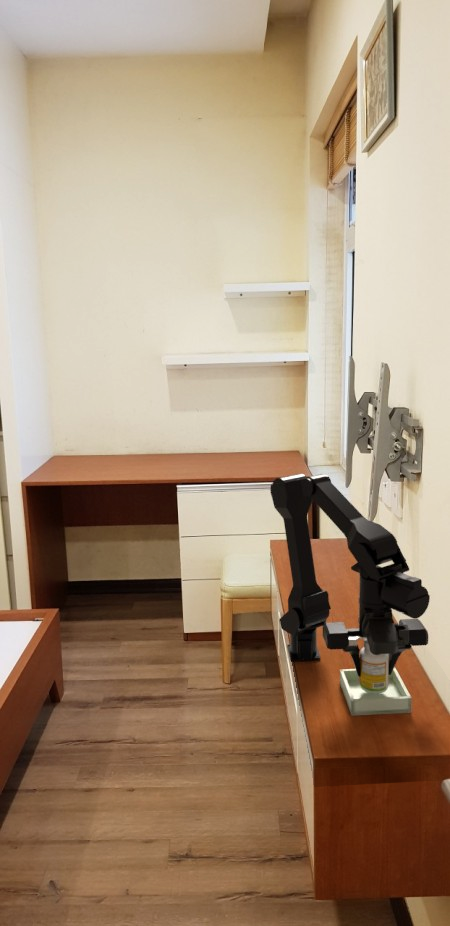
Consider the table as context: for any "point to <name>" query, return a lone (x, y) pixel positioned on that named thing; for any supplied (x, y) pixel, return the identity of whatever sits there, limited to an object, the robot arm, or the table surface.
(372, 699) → the tray
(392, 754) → the table surface
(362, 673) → the supplement bottle
